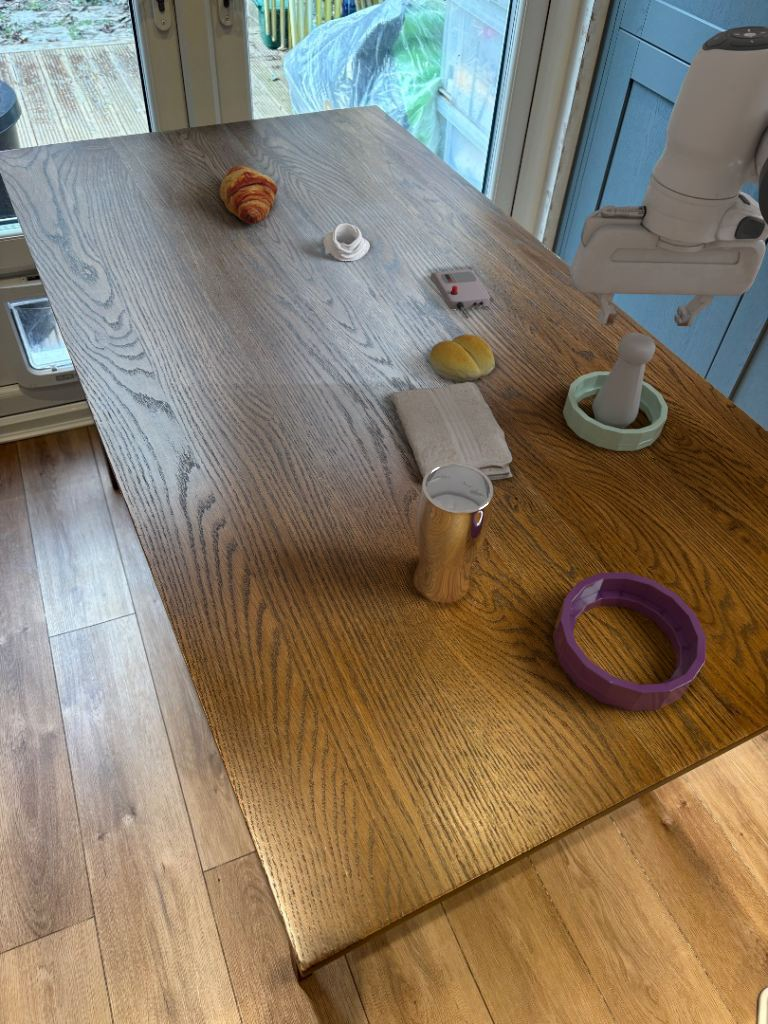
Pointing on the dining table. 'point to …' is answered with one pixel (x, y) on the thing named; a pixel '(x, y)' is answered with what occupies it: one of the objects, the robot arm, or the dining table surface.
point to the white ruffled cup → (343, 236)
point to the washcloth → (453, 429)
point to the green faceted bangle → (610, 435)
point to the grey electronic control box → (461, 289)
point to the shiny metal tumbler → (450, 528)
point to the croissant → (248, 193)
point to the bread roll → (462, 358)
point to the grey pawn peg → (624, 382)
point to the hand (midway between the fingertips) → (643, 323)
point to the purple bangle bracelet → (653, 605)
